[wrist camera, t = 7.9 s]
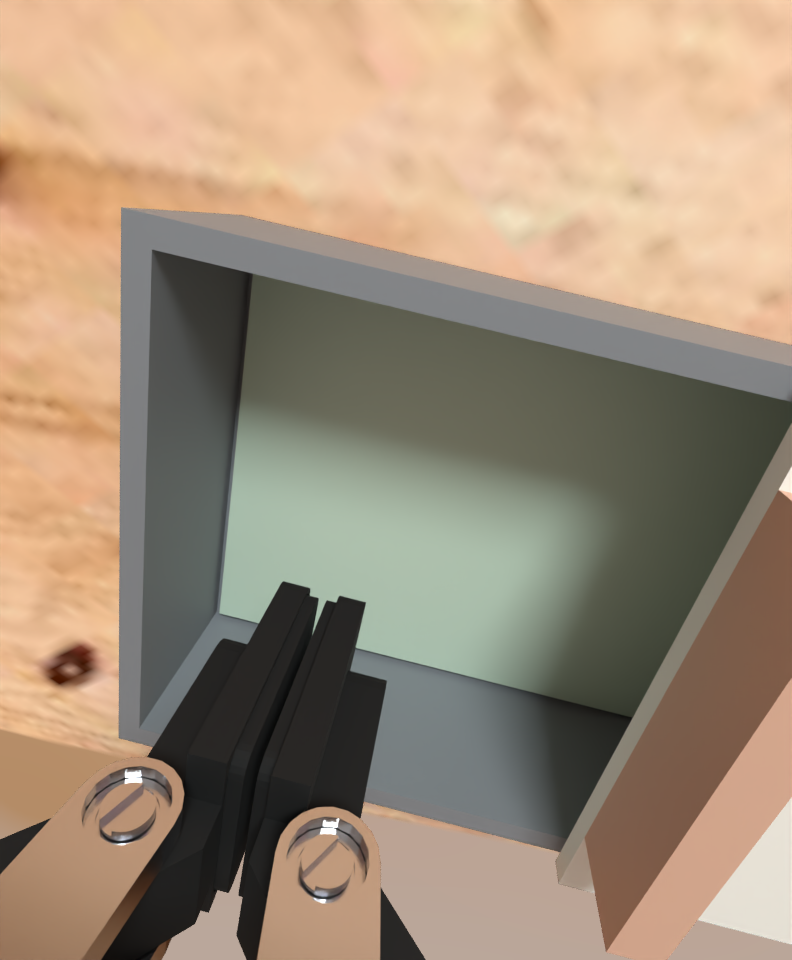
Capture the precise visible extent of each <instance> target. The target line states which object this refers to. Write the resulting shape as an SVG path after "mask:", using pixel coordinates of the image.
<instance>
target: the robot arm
mask: <svg viewBox="0 0 792 960" xmlns="http://www.w3.org/2000/svg"><path fill="white" fill-rule="evenodd" d="M318 601H319V598H317V597H313V596H310V588H308V587H304V586H300V585H296V584H292V583H288V582H285V581H283V582H282V583H281V584H280V586H279V588H278V590H277V592H276V593H275V595H274V597H273V599H272V601H271V602H270V604H269V606H268V608H267V610H266V611H265V613H264V615H263V617H262V619H261V621H260V622H259V624H258V626H257V628H256V630H255V631H254V633H253V635H252V637H251V639H250V640H249V642H248V644H245V643H241V642H237V641H233V640H229V639H225V638H223V639H222V640H221V641H220V642H219V643H218V644H217V646H216V647H215V649H214V651H213V652H212V654H211V655H210V657H209V659H208V660H207V662H206V663H205V665H204V667H203V668H202V670H201V671H200V673H199V675H198V676H197V678H196V679H195V681H194V683H193V684H192V686H191V687H190V689H189V691H188V692H187V694H186V695H185V697H184V699H183V700H182V702H181V703H180V705H179V707H178V708H177V710H176V711H175V713H174V715H173V716H172V718H171V719H170V721H169V723H168V724H167V726H166V727H165V729H164V731H163V732H162V734H161V736H160V737H159V739H158V740H157V742H156V744H155V745H154V747H153V748H152V750H151V752H150V753H149V755H148V756H147V757H134V758H127V759H124V760H121V761H116V762H113V763H111V764H109V765H108V766H106V767H104V768H102V769H100V770H98V771H97V772H96V773H95V774H93V775H92V776H91V777H90V778H89V779H88V780H86V781H85V782H84V783H83V784H82V785H81V786H80V787H79V789H78V790H77V791H76V792H75V793H74V794H73V795H72V796H71V797H70V799H69V800H68V801H67V802H66V803H65V804H64V805H63V806H62V807H61V808H60V809H59V811H58V812H57V813H56V814H55V815H54V816H53V817H52V818H50V819H48V820H46V821H43V822H41V823H39V824H36V825H33V826H31V827H29V828H26V829H24V830H22V831H19V832H17V833H14V834H12V835H10V836H7V837H5V838H3V839H0V960H162V958H163V956H164V954H165V953H166V950H167V948H168V945H169V943H170V941H171V938H172V937H174V936H175V935H177V934H179V933H180V932H182V931H184V930H186V929H187V928H189V927H191V926H192V925H194V924H195V922H196V920H197V917H198V915H199V913H200V910H201V911H205V912H209V910H210V908H211V905H212V903H213V900H214V898H215V895H216V892H217V890H220V891H223V892H227V893H228V892H229V891H230V889H231V887H232V884H233V882H234V879H235V876H236V874H237V871H238V868H239V866H240V863H241V860H242V858H243V855H244V852H245V857H244V864H243V869H242V876H241V882H240V889H239V896H242V897H243V899H242V905H241V911H240V917H239V924H238V930H237V937H238V940H239V942H240V945H241V947H242V949H243V952H244V954H245V957H246V959H247V960H425V958H424V956H423V955H422V953H421V952H420V950H419V948H418V947H417V945H416V944H415V942H414V940H413V939H412V937H411V935H410V934H409V932H408V931H407V929H406V928H405V926H404V924H403V923H402V921H401V919H400V918H399V916H398V915H397V913H396V911H395V910H394V908H393V907H392V905H391V903H390V902H389V900H388V898H387V897H386V895H385V894H384V892H383V891H382V889H381V883H380V882H381V862H380V855H379V848H378V844H377V842H376V840H375V838H374V836H373V834H372V831H371V830H370V829H369V828H368V827H367V826H366V824H365V823H364V822H363V821H362V820H361V819H360V818H361V813H362V808H363V803H364V798H365V792H366V787H367V782H368V777H369V772H370V767H371V762H372V757H373V752H374V746H375V741H376V736H377V731H378V726H379V721H380V716H381V711H382V705H383V700H384V695H385V690H386V685H387V680H383V679H379V678H376V677H372V676H368V675H364V674H360V673H356V672H352V671H350V670H351V665H352V661H353V657H354V653H355V648H356V644H357V640H358V636H359V631H360V627H361V623H362V618H363V614H364V610H365V605H366V602H363V601H359V600H355V599H351V598H347V597H343V596H339V597H338V599H337V602H332V601H328V600H327V601H326V603H325V605H324V607H323V610H322V612H321V615H320V617H319V620H318V622H317V625H316V627H315V630H314V632H313V628H314V623H315V618H316V612H317V607H318ZM312 633H313V635H312Z"/></svg>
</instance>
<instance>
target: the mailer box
mask: <svg viewBox="0 0 792 960" xmlns="http://www.w3.org/2000/svg"><path fill="white" fill-rule="evenodd" d="M791 423H792V345H788V344H784V343H780V342H776V341H772V340H767V339H763V338H759V337H755V336H750V335H746V334H742V333H738V332H734V331H729V330H725V329H721V328H717V327H712V326H708V325H704V324H700V323H695V322H691V321H687V320H683V319H679V318H674V317H670V316H666V315H662V314H657V313H653V312H649V311H645V310H640V309H636V308H632V307H628V306H624V305H619V304H615V303H611V302H607V301H602V300H598V299H594V298H590V297H585V296H581V295H577V294H573V293H569V292H564V291H560V290H556V289H552V288H547V287H543V286H539V285H535V284H530V283H526V282H522V281H518V280H514V279H509V278H505V277H501V276H497V275H492V274H488V273H484V272H480V271H475V270H471V269H467V268H463V267H459V266H454V265H450V264H446V263H442V262H437V261H433V260H429V259H425V258H420V257H416V256H412V255H408V254H404V253H399V252H395V251H391V250H387V249H382V248H378V247H374V246H370V245H365V244H361V243H357V242H353V241H349V240H344V239H340V238H336V237H332V236H327V235H323V234H319V233H315V232H310V231H306V230H302V229H298V228H294V227H289V226H285V225H281V224H277V223H272V222H268V221H264V220H260V219H255V218H251V217H247V216H243V215H231V214H216V213H200V212H185V211H169V210H154V209H138V208H123V207H121V374H120V581H119V738H120V739H124V740H128V741H132V742H136V743H140V744H144V745H147V746H151V747H154V745H155V744H156V742H157V740H158V739H159V737H160V736H161V734H162V732H163V731H164V729H165V727H166V726H167V724H168V723H169V721H170V719H171V718H172V716H173V715H174V713H175V711H176V710H177V708H178V707H179V705H180V703H181V702H182V700H183V699H184V697H185V695H186V694H187V692H188V691H189V689H190V687H191V686H192V684H193V683H194V681H195V679H196V678H197V676H198V675H199V673H200V671H201V670H202V668H203V667H204V665H205V663H206V662H207V660H208V659H209V657H210V655H211V654H212V652H213V651H214V649H215V647H216V646H217V644H218V643H219V642H220V641H221V640H222V639H223V638H225V639H229V640H233V641H237V642H241V643H245V644H248V642H249V640H250V639H251V637H252V635H253V633H254V631H255V630H256V628H257V626H258V624H259V622H260V621H261V619H262V617H263V615H264V613H265V611H266V610H267V608H268V606H269V604H270V602H271V601H272V599H273V597H274V595H275V593H276V592H277V590H278V588H279V586H280V584H281V583H282V582H283V581H285V582H288V583H292V584H296V585H300V586H304V587H308V588H310V596H313V597H317V598H319V601H318V607H317V612H316V618H315V623H314V628H313V632H314V630H315V627H316V625H317V622H318V620H319V617H320V615H321V612H322V610H323V607H324V605H325V603H326V601H327V600H328V601H332V602H337V599H338V597H339V596H343V597H347V598H351V599H355V600H359V601H363V602H366V605H365V610H364V614H363V618H362V623H361V627H360V631H359V636H358V640H357V644H356V648H355V653H354V657H353V661H352V665H351V670H350V671H352V672H356V673H360V674H364V675H368V676H372V677H376V678H379V679H383V680H387V685H386V690H385V695H384V700H383V705H382V711H381V716H380V721H379V726H378V731H377V736H376V741H375V746H374V752H373V757H372V762H371V767H370V772H369V777H368V782H367V787H366V792H365V798H364V802H368V803H372V804H376V805H380V806H384V807H388V808H391V809H395V810H399V811H403V812H407V813H411V814H415V815H419V816H422V817H426V818H430V819H434V820H438V821H442V822H446V823H450V824H453V825H457V826H461V827H465V828H469V829H473V830H477V831H481V832H484V833H488V834H492V835H496V836H500V837H504V838H508V839H512V840H515V841H519V842H523V843H527V844H531V845H535V846H539V847H543V848H546V849H550V850H554V851H558V852H561V850H562V848H563V846H564V844H565V843H566V841H567V839H568V837H569V835H570V833H571V831H572V830H573V828H574V826H575V824H576V822H577V820H578V819H579V817H580V815H581V813H582V811H583V809H584V807H585V806H586V804H587V802H588V800H589V798H590V796H591V794H592V793H593V791H594V789H595V787H596V785H597V783H598V781H599V780H600V778H601V776H602V774H603V772H604V770H605V768H606V767H607V765H608V763H609V761H610V759H611V757H612V755H613V754H614V752H615V750H616V748H617V746H618V744H619V742H620V741H621V739H622V737H623V735H624V733H625V731H626V729H627V728H628V726H629V724H630V722H631V720H632V718H633V716H634V715H635V713H636V711H637V709H638V707H639V705H640V703H641V702H642V700H643V698H644V696H645V694H646V692H647V690H648V689H649V687H650V685H651V683H652V681H653V679H654V678H655V676H656V674H657V672H658V670H659V668H660V666H661V665H662V663H663V661H664V659H665V657H666V655H667V653H668V652H669V650H670V648H671V646H672V644H673V642H674V640H675V639H676V637H677V635H678V633H679V631H680V629H681V627H682V626H683V624H684V622H685V620H686V618H687V616H688V614H689V613H690V611H691V609H692V607H693V605H694V603H695V601H696V600H697V598H698V596H699V594H700V592H701V590H702V588H703V587H704V585H705V583H706V581H707V579H708V577H709V575H710V574H711V572H712V570H713V568H714V566H715V564H716V562H717V561H718V559H719V557H720V555H721V553H722V551H723V549H724V548H725V546H726V544H727V542H728V540H729V538H730V537H731V535H732V533H733V531H734V529H735V527H736V525H737V524H738V522H739V520H740V518H741V516H742V514H743V512H744V511H745V509H746V507H747V505H748V503H749V501H750V499H751V498H752V496H753V494H754V492H755V490H756V488H757V486H758V485H759V483H760V481H761V479H762V477H763V475H764V473H765V472H766V470H767V468H768V466H769V464H770V462H771V460H772V459H773V457H774V455H775V453H776V451H777V449H778V447H779V446H780V444H781V442H782V440H783V438H784V436H785V434H786V433H787V431H788V429H789V427H790V425H791ZM312 635H313V633H312Z"/></svg>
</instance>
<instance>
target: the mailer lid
mask: <svg viewBox="0 0 792 960" xmlns="http://www.w3.org/2000/svg"><path fill="white" fill-rule="evenodd" d="M556 869H557V876H558V884H560V885H565V886H568V887H572V888H576V889H580V890H584V891H587V892H592V893H595V896H596V901H597V906H598V912H599V917H600V922H601V927H602V933H603V938H604V943H605V948H606V952H607V953H611V954H615V955H619V956H623V957H626V958H630V959H634V960H667V959H668V958H669V956H670V955H671V954H672V952H673V951H674V950H675V949H676V947H677V946H678V945H679V943H680V942H681V941H682V939H683V938H684V937H685V936H686V934H687V933H688V932H689V930H690V929H691V928H692V926H693V925H694V924H695V923H696V921H697V920H699V921H703V922H707V923H711V924H715V925H719V926H722V927H726V928H730V929H734V930H738V931H742V932H746V933H749V934H753V935H757V936H761V937H765V938H769V939H773V940H776V941H780V942H784V943H788V944H792V423H791V425H790V427H789V429H788V431H787V433H786V434H785V436H784V438H783V440H782V442H781V444H780V446H779V447H778V449H777V451H776V453H775V455H774V457H773V459H772V460H771V462H770V464H769V466H768V468H767V470H766V472H765V473H764V475H763V477H762V479H761V481H760V483H759V485H758V486H757V488H756V490H755V492H754V494H753V496H752V498H751V499H750V501H749V503H748V505H747V507H746V509H745V511H744V512H743V514H742V516H741V518H740V520H739V522H738V524H737V525H736V527H735V529H734V531H733V533H732V535H731V537H730V538H729V540H728V542H727V544H726V546H725V548H724V549H723V551H722V553H721V555H720V557H719V559H718V561H717V562H716V564H715V566H714V568H713V570H712V572H711V574H710V575H709V577H708V579H707V581H706V583H705V585H704V587H703V588H702V590H701V592H700V594H699V596H698V598H697V600H696V601H695V603H694V605H693V607H692V609H691V611H690V613H689V614H688V616H687V618H686V620H685V622H684V624H683V626H682V627H681V629H680V631H679V633H678V635H677V637H676V639H675V640H674V642H673V644H672V646H671V648H670V650H669V652H668V653H667V655H666V657H665V659H664V661H663V663H662V665H661V666H660V668H659V670H658V672H657V674H656V676H655V678H654V679H653V681H652V683H651V685H650V687H649V689H648V690H647V692H646V694H645V696H644V698H643V700H642V702H641V703H640V705H639V707H638V709H637V711H636V713H635V715H634V716H633V718H632V720H631V722H630V724H629V726H628V728H627V729H626V731H625V733H624V735H623V737H622V739H621V741H620V742H619V744H618V746H617V748H616V750H615V752H614V754H613V755H612V757H611V759H610V761H609V763H608V765H607V767H606V768H605V770H604V772H603V774H602V776H601V778H600V780H599V781H598V783H597V785H596V787H595V789H594V791H593V793H592V794H591V796H590V798H589V800H588V802H587V804H586V806H585V807H584V809H583V811H582V813H581V815H580V817H579V819H578V820H577V822H576V824H575V826H574V828H573V830H572V831H571V833H570V835H569V837H568V839H567V841H566V843H565V844H564V846H563V848H562V850H561V852H560V854H559V856H558V858H557V859H556Z"/></svg>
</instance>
